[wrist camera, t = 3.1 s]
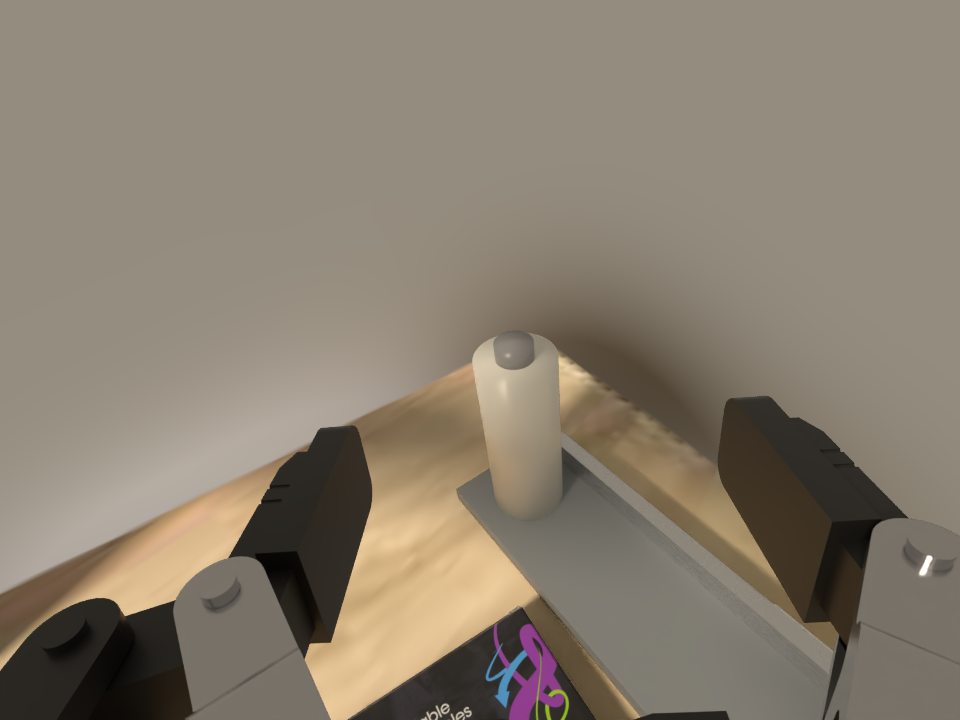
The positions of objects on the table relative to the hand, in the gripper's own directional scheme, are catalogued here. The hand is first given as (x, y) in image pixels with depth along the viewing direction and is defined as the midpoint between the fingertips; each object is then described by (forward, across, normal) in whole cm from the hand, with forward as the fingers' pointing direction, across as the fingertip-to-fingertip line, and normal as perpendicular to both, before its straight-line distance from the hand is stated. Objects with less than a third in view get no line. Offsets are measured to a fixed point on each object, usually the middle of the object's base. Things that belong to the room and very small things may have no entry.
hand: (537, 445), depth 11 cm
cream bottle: (+23, 0, +22) cm, 32 cm away
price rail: (+18, -10, +23) cm, 31 cm away
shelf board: (+16, -6, +25) cm, 30 cm away
